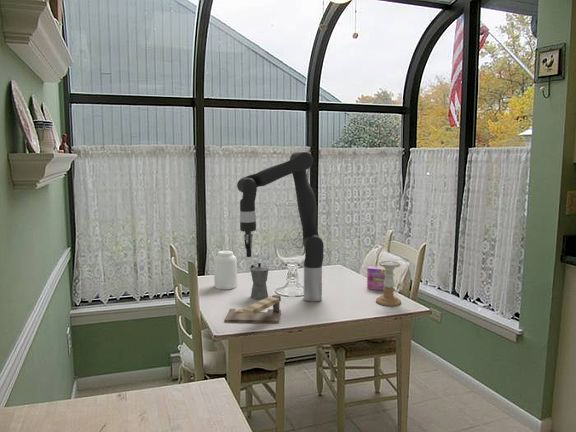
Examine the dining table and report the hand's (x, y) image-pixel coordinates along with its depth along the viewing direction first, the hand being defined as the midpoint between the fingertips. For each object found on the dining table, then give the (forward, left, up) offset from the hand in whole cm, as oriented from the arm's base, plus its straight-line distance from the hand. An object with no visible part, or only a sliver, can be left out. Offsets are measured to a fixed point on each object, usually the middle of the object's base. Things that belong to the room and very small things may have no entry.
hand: (249, 256), depth 230 cm
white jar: (+17, -36, -26) cm, 48 cm away
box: (-67, -38, -26) cm, 81 cm away
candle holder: (-69, -13, -25) cm, 74 cm away
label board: (-4, +12, -25) cm, 28 cm away
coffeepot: (-3, -19, -26) cm, 32 cm away
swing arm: (-9, +17, -19) cm, 27 cm away
